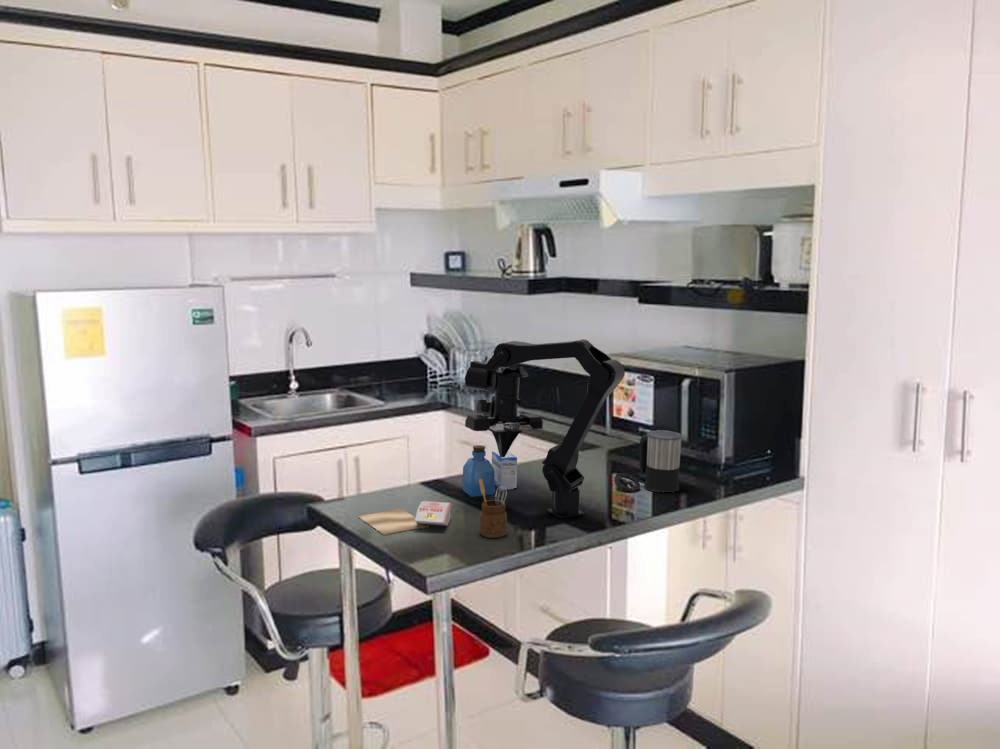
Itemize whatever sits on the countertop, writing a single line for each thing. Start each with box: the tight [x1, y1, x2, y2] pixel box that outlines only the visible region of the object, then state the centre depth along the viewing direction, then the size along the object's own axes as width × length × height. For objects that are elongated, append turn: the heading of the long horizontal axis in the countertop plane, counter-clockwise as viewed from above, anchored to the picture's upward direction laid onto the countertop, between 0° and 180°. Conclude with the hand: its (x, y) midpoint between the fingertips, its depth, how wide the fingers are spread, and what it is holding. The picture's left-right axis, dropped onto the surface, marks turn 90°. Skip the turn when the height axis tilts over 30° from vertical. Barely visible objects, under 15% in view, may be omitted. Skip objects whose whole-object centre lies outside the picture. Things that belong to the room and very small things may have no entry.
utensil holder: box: [479, 478, 508, 539], centre depth 178 cm, size 6×6×12 cm
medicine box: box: [491, 450, 518, 491], centre depth 216 cm, size 8×4×9 cm, turn 21°
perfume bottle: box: [462, 444, 495, 498], centre depth 209 cm, size 6×6×12 cm
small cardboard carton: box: [414, 500, 452, 527], centre depth 184 cm, size 4×7×10 cm
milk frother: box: [613, 429, 683, 494], centre depth 215 cm, size 14×16×15 cm
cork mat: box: [357, 508, 430, 536], centre depth 186 cm, size 14×11×1 cm
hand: (502, 456), depth 199 cm, fingers closed
